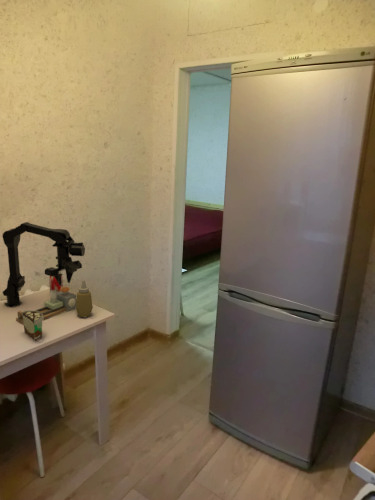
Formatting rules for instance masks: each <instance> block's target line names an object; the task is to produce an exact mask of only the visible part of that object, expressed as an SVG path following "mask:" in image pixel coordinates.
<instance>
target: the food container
mask: <svg viewBox="0 0 375 500" xmlns="http://www.w3.org/2000/svg"><path fill="white" fill-rule="evenodd" d="M22 316H23V323H24V325H23V329H24V334H25V336H27V337H28V338H30V339H31V340H32V341H33V342H36V341H38V340H40V339H41V338H42V335H43V321H45V320H44V317H43V314H42V313H41V312H39V311H35V310H34V309H33V310H24V311H22Z"/></svg>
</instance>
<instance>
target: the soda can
mask: <svg viewBox="0 0 375 500" xmlns="http://www.w3.org/2000/svg"><path fill="white" fill-rule="evenodd" d="M63 278H64V277H63V275H62V276H61V282H62V284H61V286H60V285H59V284H58V282H57V280H56V279H55V277H54V276H49V277H48V281H49V283H48V284H49V292H50V291H51V290H56V293H57V292H60V288H61V287H64V281H63Z"/></svg>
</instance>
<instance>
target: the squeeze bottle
mask: <svg viewBox="0 0 375 500" xmlns="http://www.w3.org/2000/svg"><path fill="white" fill-rule="evenodd" d="M89 288H90V287H89V286H87V284H86V281H85V280H82V282H81V286H80V287H79V288H78V292H77V293H76V308H75V311H76V313H77V315H78V317H80V318H87V317H90V316H91V314H92V312H93V307H94V305H93V299H92V298H93V297H92V293H91V291H90V289H89Z"/></svg>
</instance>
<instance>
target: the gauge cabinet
mask: <svg viewBox="0 0 375 500" xmlns="http://www.w3.org/2000/svg"><path fill="white" fill-rule="evenodd" d="M56 295H57V300H59V301H62V302H63V305H64V308H66V311H65V312H69V311H71V310H73V309H76V300H77V294H74V293H72V292H69V291H68V292H67V295H63V292H61V291H60V292H57V293H56Z"/></svg>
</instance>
